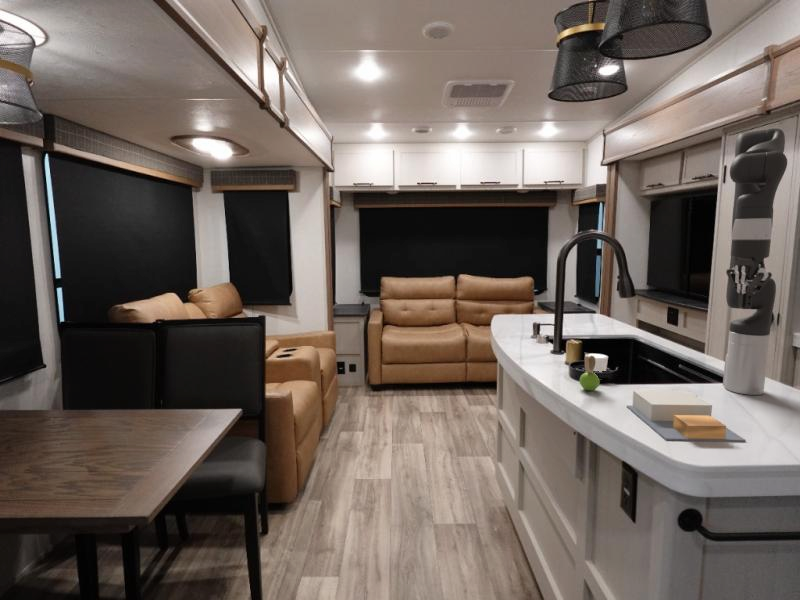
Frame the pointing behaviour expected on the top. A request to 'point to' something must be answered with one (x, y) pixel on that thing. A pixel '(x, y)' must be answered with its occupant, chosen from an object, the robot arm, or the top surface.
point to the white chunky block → (599, 361)
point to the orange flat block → (699, 427)
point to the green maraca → (589, 374)
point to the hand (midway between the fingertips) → (744, 308)
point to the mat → (671, 433)
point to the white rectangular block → (669, 404)
